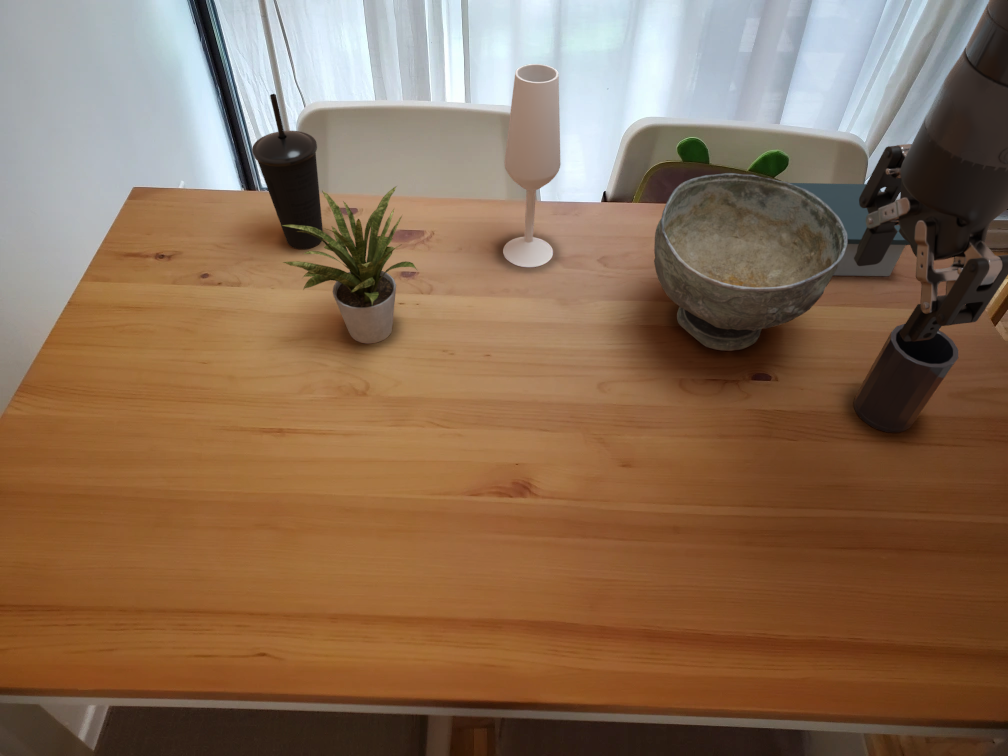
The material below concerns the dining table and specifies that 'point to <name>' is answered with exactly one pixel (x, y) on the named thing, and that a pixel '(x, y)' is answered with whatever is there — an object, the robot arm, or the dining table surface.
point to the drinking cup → (291, 180)
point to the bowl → (744, 255)
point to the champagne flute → (533, 152)
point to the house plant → (358, 272)
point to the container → (855, 227)
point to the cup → (903, 380)
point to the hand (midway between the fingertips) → (888, 298)
